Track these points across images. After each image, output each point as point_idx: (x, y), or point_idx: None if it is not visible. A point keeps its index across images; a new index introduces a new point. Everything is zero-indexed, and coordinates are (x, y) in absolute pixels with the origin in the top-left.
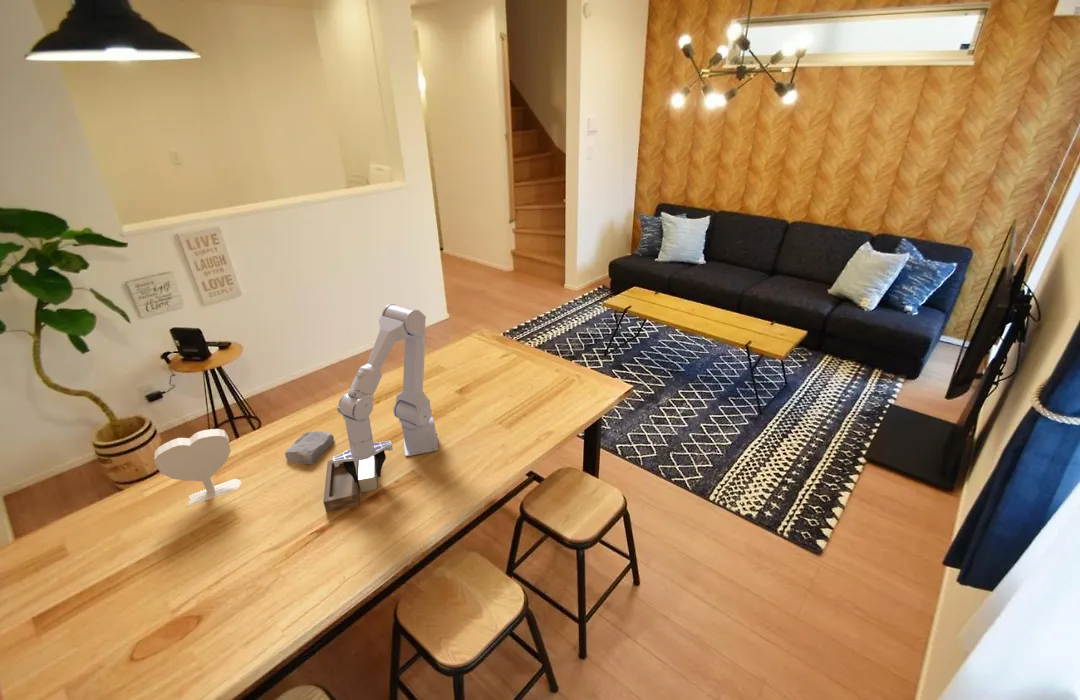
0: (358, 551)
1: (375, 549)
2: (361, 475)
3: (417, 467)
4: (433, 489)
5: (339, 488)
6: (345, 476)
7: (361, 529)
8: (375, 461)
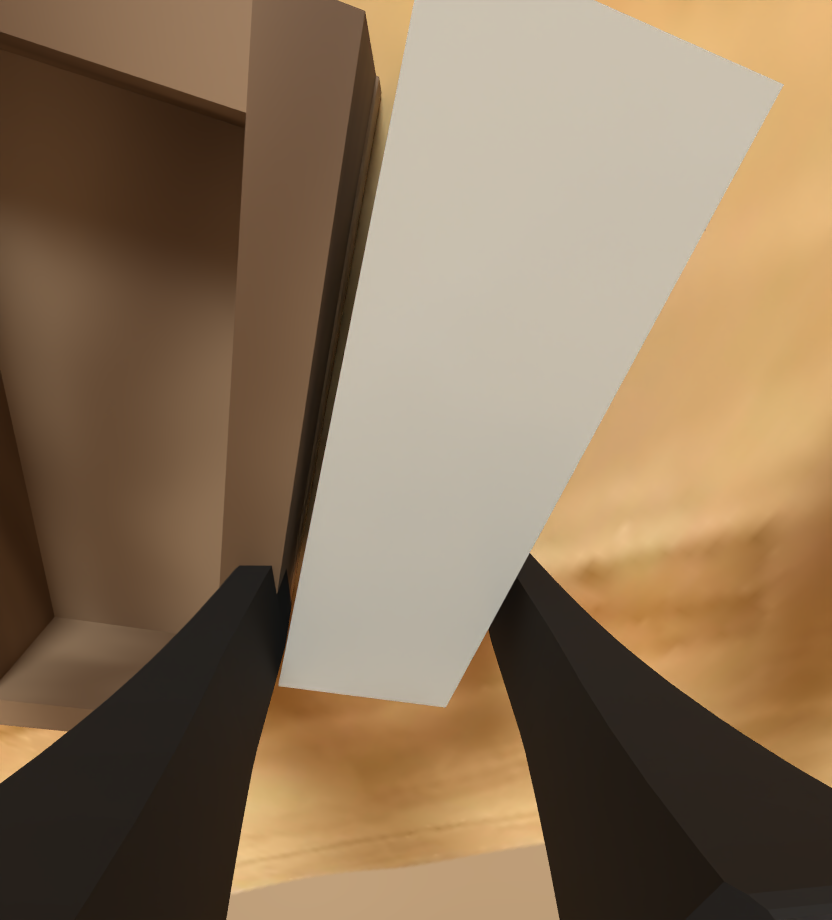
0: (250, 822)
1: (319, 832)
2: (324, 649)
3: (816, 518)
4: (714, 710)
5: (103, 482)
6: (154, 329)
7: (274, 762)
8: (562, 748)
